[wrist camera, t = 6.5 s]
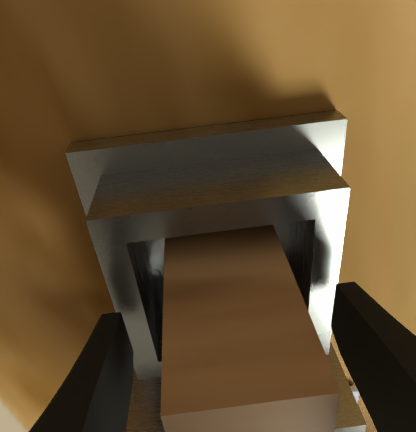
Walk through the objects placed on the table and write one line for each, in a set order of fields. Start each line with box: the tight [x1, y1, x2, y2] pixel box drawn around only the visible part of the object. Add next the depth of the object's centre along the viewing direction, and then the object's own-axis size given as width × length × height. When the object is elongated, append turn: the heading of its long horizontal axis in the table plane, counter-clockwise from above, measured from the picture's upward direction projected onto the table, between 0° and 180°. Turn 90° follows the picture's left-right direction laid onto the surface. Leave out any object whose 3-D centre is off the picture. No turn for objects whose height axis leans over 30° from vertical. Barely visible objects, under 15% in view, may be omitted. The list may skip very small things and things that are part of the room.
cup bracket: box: [65, 110, 366, 432], centre depth 15 cm, size 12×10×6 cm
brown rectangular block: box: [160, 225, 341, 432], centre depth 13 cm, size 4×4×8 cm
